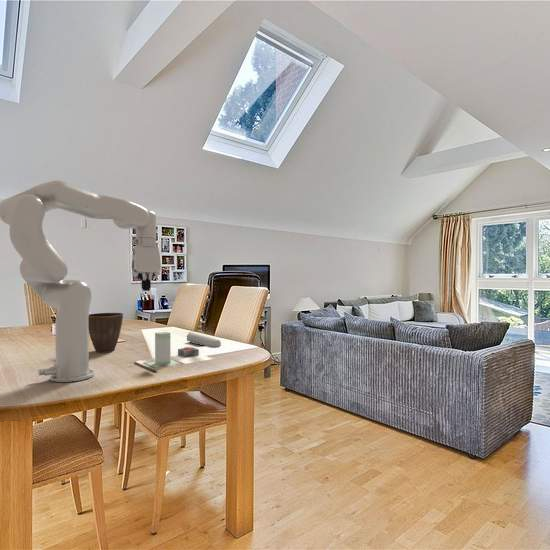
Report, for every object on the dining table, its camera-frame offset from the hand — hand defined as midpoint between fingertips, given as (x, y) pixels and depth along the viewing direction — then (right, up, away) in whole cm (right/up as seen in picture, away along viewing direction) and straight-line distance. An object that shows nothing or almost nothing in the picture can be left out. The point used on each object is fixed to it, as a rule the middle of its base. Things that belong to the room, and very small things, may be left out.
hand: (146, 290), depth 150 cm
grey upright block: (+9, -26, -10) cm, 29 cm away
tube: (+17, -28, +32) cm, 45 cm away
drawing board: (+13, -27, -4) cm, 30 cm away
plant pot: (-24, -27, +19) cm, 41 cm away
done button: (+15, -25, +5) cm, 30 cm away
